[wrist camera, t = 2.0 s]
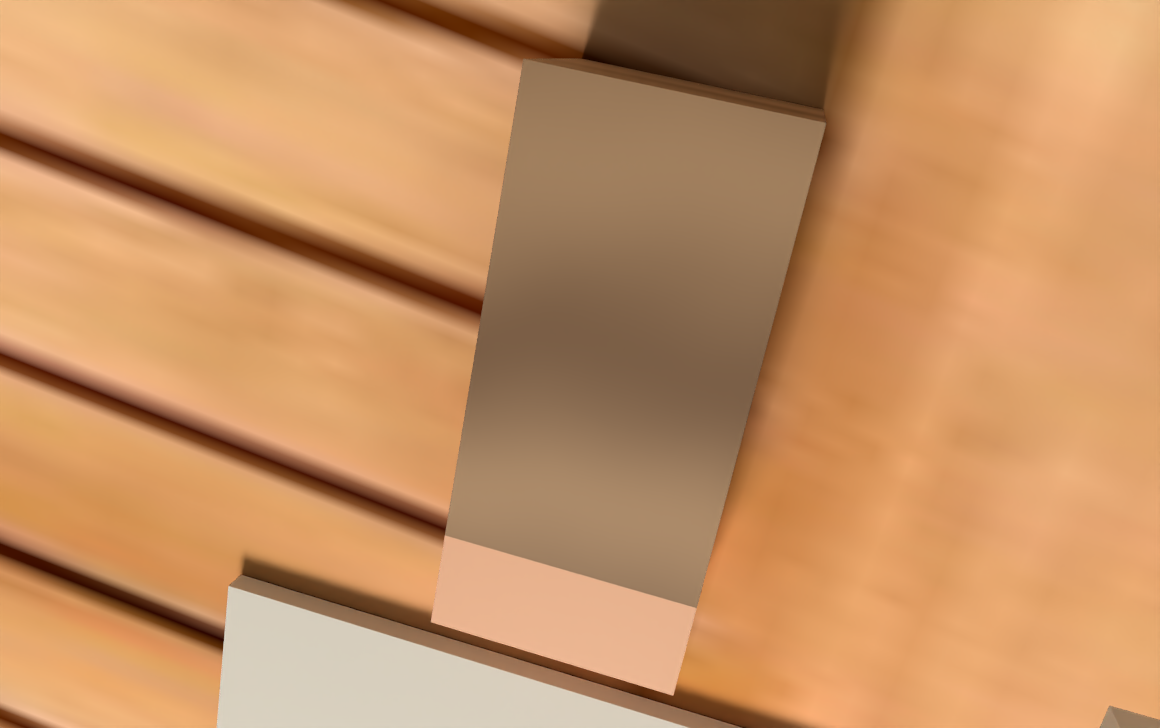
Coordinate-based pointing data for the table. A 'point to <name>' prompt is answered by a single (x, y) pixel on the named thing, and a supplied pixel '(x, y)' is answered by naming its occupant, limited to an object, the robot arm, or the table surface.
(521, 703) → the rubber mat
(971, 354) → the table surface
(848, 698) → the table surface
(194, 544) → the table surface
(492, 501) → the walnut block
